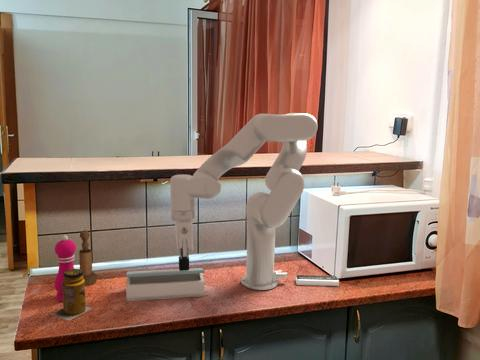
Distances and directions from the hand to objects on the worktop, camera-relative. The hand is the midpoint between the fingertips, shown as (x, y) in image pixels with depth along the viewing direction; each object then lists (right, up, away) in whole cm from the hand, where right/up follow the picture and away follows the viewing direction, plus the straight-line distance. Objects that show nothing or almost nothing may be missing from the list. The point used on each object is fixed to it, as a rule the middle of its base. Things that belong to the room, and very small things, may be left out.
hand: (184, 269), depth 136 cm
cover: (-6, -1, -1) cm, 6 cm away
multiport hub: (+45, -8, +11) cm, 47 cm away
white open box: (-6, -8, 0) cm, 10 cm away
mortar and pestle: (-34, -6, +7) cm, 35 cm away
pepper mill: (-36, -8, -5) cm, 37 cm away
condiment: (-31, -10, -14) cm, 35 cm away
